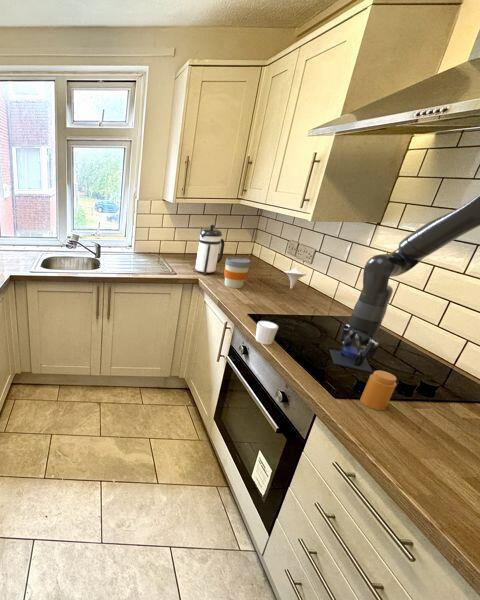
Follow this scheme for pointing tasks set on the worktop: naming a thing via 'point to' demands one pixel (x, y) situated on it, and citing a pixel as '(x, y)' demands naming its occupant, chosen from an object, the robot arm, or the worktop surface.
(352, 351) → the jar lid
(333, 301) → the worktop surface
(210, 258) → the coffee press
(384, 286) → the robot arm
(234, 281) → the reusable coffee cup
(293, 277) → the mushroom
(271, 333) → the white cylinder
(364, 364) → the coaster
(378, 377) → the jar
